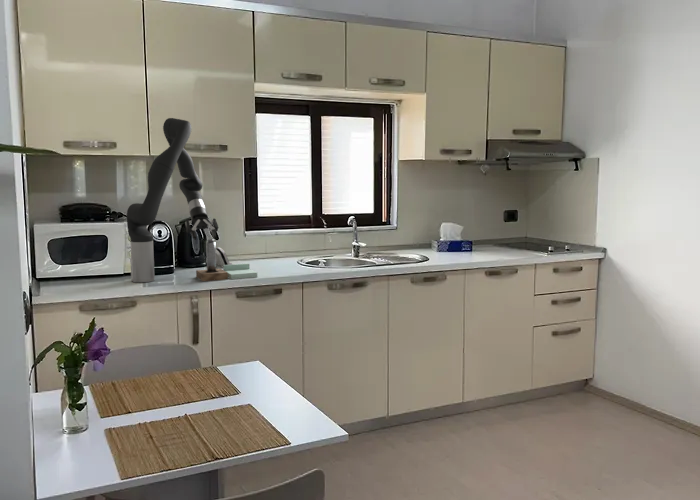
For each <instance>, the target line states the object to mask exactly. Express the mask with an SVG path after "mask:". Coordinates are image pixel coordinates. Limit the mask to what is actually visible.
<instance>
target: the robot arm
mask: <svg viewBox="0 0 700 500" xmlns="http://www.w3.org/2000/svg"><path fill="white" fill-rule="evenodd" d="M162 129H163V134H164V138H165V139H166V142H167V143H168V148H166V149H165V150H163V151H162V152H161V153H159V154H158V155H157V156H156V157H155V159H154V160H152V163H151V165H150V168H149V170H148V172H147V185H148V186H147V187H148V189H147V194H146V196H145V199H144V201H143V203H137V202H136V203H135V202H134V203H132V204H130V205H129V206H128V207H127V210H126V223H127V224H126V225H127V226H126V227H127V234H128V237H129V239H130V280H131V282H133V283H148V282H149V283H151V282H154V281H155V279H156V277H155V258H154V257H155V256H154V252H155V251H154V235H153V233H151V232H150V231H149V230H148V226H150V225H152V224H153V223H154V222H155V221H156V218H157V215H158V212H159V208H160V206H161V202H162V199H163V196H164V194H165V192H166V189H167V186H168V183H169V182H170V180H171V178H172V175H173V173H174V169H175V167H176V165H177V167H178V171H179V175H180V176H181V178H183V179H181V180H180V181H179V184H178V185H179V189H180V191H181V193H182V194H183V195H184V197H185V198H186V201H187V206H188V211H189V216H190V219H191V220H189V219H188V218H187V219H185V223H184V224H185V229H186V230H185V231H186V233H187V234H189V233H190V234H191V237H192V239H193V240H194V241H195V240H197V239H198V238H197V233H196V231H197V230H207V231H210V233H211V237H212V239H214V240H215V238H216V237H217V233H216V232H218V230H219V224H218V222H217V219H216V218H214V217H213V219H209V215H208V212H207V208H206V205H205V203H204V199H203V196H202V193H201V192H200V191H202V189H203V182H202V180H201V178H200V176H198V174H197V172H196V169H195V165H194V161H193V158H192V157H191V155H190V154H189V152H188V151H187V150H186V149H185V146H186V144H187V142H188V141H189V139H190V136H191V133H192V123H191V122H190V121H188V120H185V119H180V118H174V117H168V118H166V119H165V121H164V123H163V126H162ZM187 152H188V153H187ZM191 225H192V228H191Z"/></svg>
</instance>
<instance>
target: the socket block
mask: <svg viewBox="0 0 700 500" xmlns="http://www.w3.org/2000/svg"><path fill="white" fill-rule="evenodd" d="M195 273H196V274H195V275H196V277H195V278H197V279H198V280H200V281H202V282H208V281H209V282H210V281H221V280H224V281H225V280H228V279H229V278H228V272H226V271H224V270H223V269H222V268H216V272H212V273H207V269H199V270H198V269H196V270H195Z"/></svg>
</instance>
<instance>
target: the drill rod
mask: <svg viewBox="0 0 700 500" xmlns="http://www.w3.org/2000/svg"><path fill="white" fill-rule="evenodd" d="M214 240H215V239H213V238H212V239H211V238H209V239H207V241H206V243H205V244H206V270H207V273H212V272H216V269H217V264H216V248H217V246H216V244H217V243H216V241H214Z"/></svg>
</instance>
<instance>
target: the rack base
mask: <svg viewBox="0 0 700 500" xmlns="http://www.w3.org/2000/svg"><path fill="white" fill-rule="evenodd" d="M232 264H233V263H232ZM222 268H223V269H222V270H224V271H226V272H228V279H230V280H237V279H250V278H258V272H257V271H255V270H253V269H250V263H249V262H248V263H236V264H233V265H223V267H222Z"/></svg>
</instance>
